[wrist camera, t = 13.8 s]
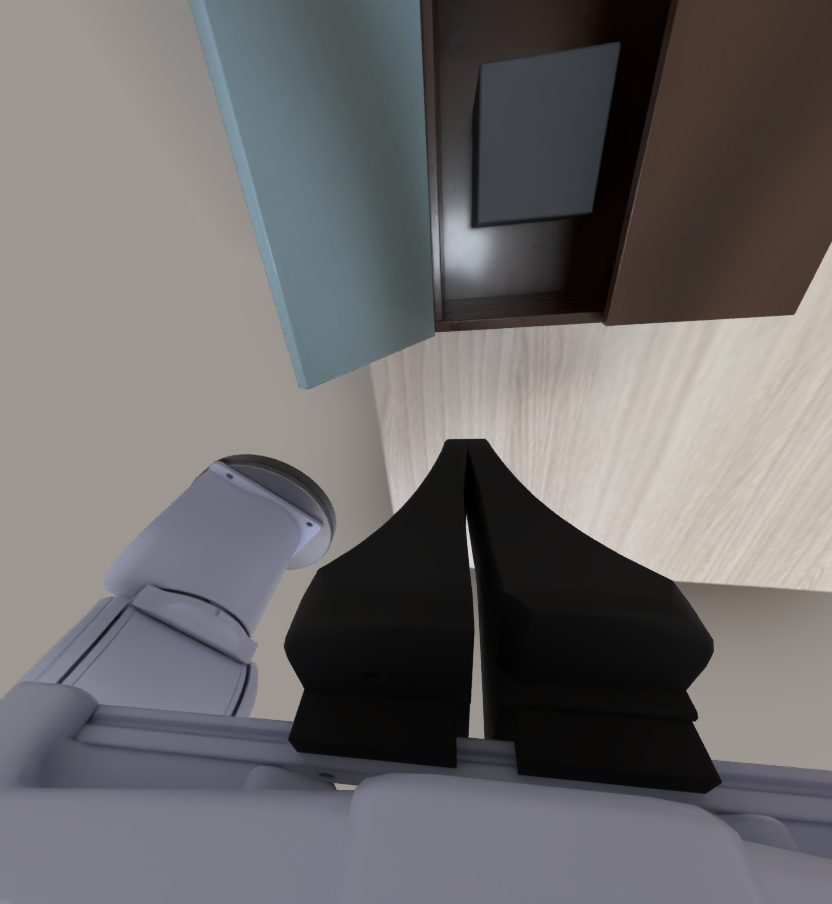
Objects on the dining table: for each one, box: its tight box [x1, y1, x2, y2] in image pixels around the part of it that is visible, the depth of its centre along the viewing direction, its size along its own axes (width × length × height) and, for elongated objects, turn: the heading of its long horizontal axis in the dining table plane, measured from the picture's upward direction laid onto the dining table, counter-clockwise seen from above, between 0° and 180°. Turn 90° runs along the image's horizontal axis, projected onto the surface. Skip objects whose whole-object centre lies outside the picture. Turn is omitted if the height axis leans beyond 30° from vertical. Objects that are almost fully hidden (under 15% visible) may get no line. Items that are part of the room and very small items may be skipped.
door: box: [188, 0, 435, 389], centre depth 7 cm, size 6×11×1 cm
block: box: [471, 42, 621, 228], centre depth 12 cm, size 4×4×4 cm
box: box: [420, 0, 832, 332], centre depth 11 cm, size 12×11×7 cm
